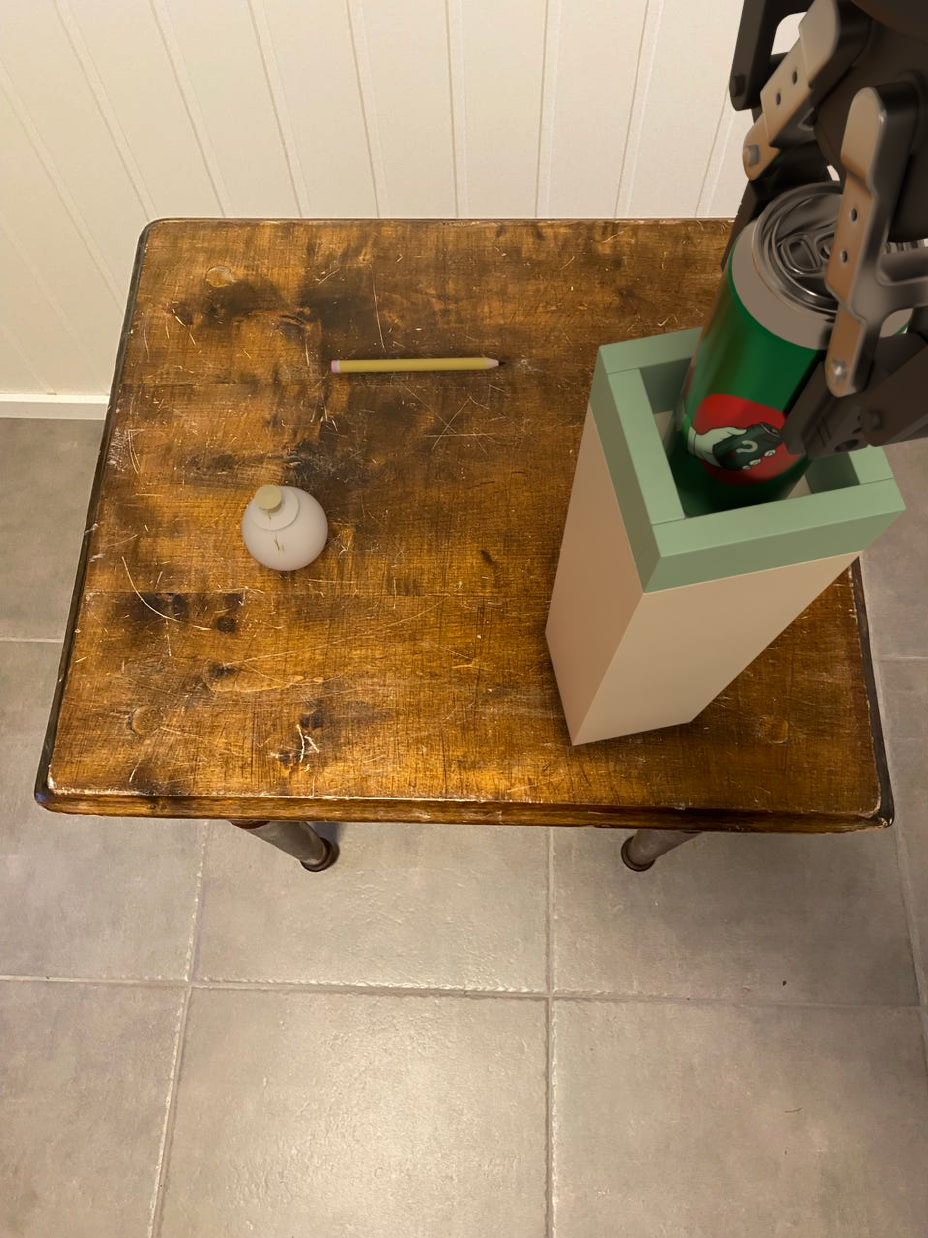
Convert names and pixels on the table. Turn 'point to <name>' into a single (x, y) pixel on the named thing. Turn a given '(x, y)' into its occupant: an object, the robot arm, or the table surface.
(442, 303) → the table surface
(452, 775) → the table surface
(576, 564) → the holder
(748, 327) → the soda can
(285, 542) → the ornament
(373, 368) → the pencil
